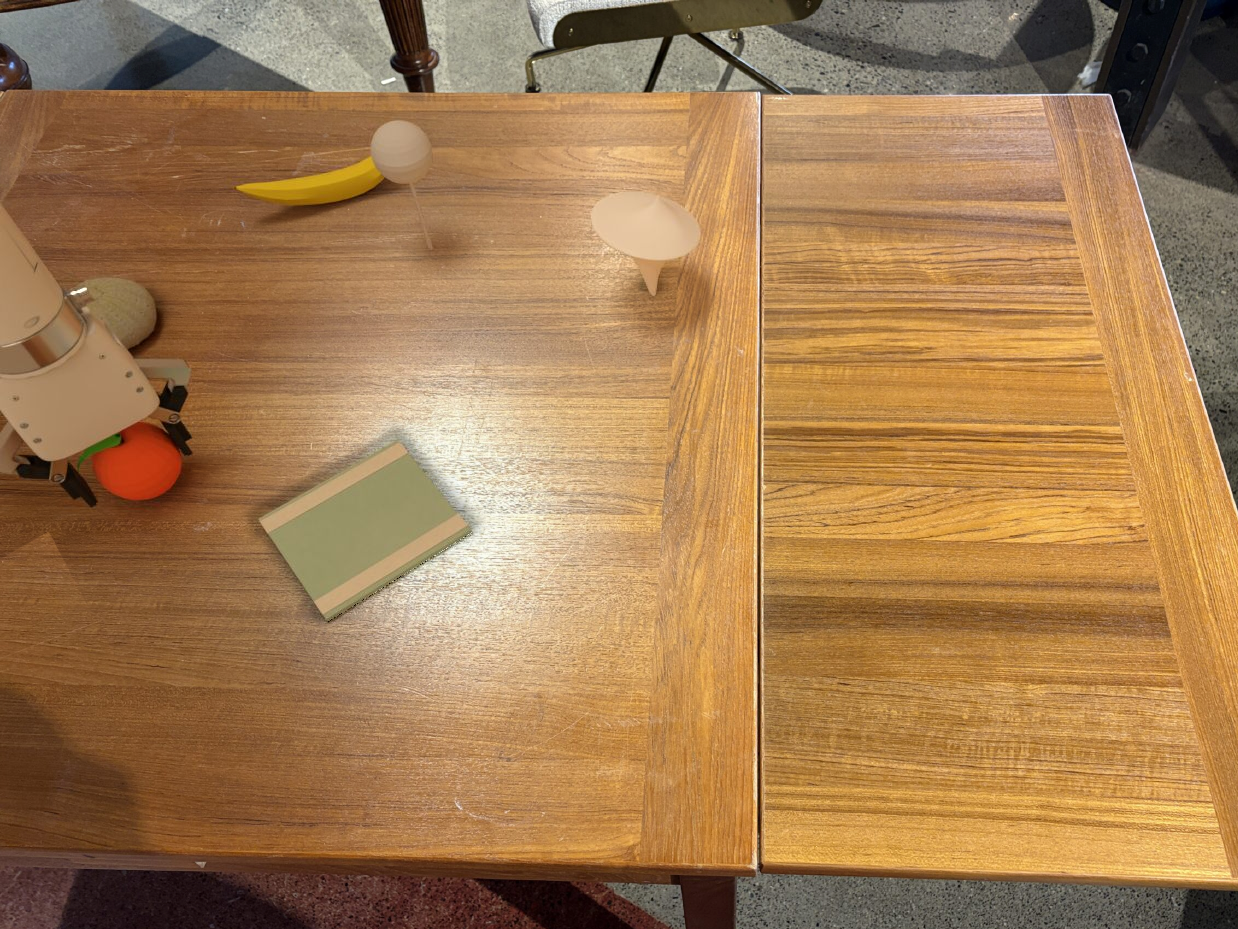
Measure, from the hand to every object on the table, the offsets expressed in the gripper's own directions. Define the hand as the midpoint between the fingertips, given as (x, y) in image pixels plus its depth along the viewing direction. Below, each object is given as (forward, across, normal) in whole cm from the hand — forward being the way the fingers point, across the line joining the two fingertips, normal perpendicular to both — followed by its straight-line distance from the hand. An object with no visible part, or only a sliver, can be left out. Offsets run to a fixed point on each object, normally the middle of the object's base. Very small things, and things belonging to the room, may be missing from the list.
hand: (136, 470), depth 89 cm
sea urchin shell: (+3, -5, -22) cm, 23 cm away
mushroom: (+3, -50, +9) cm, 51 cm away
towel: (+3, -13, +16) cm, 21 cm away
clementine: (+3, 0, 0) cm, 3 cm away
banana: (+3, -32, -26) cm, 41 cm away
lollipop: (+3, -36, -12) cm, 38 cm away
